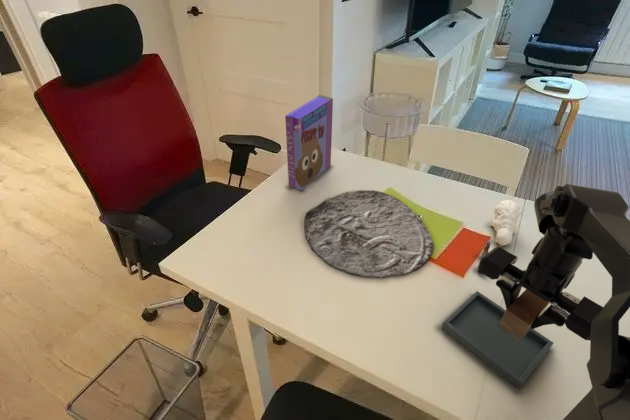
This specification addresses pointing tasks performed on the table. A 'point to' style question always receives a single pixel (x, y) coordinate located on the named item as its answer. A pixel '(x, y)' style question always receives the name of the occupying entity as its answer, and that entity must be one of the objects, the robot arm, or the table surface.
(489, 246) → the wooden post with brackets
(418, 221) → the ancient coin
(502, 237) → the white plaster bust
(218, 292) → the table surface
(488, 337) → the tray
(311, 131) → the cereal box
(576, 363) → the table surface
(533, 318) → the brown rectangular block
